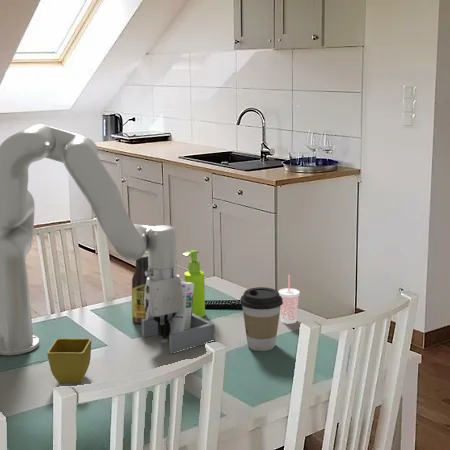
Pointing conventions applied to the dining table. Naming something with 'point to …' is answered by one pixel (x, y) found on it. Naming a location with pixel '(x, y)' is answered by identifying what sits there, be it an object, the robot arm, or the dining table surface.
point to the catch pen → (183, 333)
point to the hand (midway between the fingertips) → (164, 336)
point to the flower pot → (69, 359)
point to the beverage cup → (289, 304)
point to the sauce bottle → (139, 289)
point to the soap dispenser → (196, 283)
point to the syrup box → (184, 310)
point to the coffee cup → (261, 317)
